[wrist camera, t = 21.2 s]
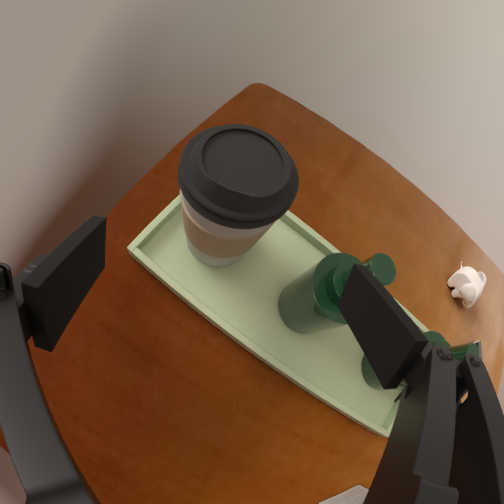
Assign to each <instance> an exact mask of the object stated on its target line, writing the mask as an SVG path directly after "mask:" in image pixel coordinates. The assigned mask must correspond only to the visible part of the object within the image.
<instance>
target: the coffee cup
mask: <svg viewBox="0 0 504 504" xmlns="http://www.w3.org/2000/svg"><path fill="white" fill-rule="evenodd" d="M178 182H179V186H180V200H181V209H182V218H183V226H184V230H185V233H186V240H187V245H188V248H189V250H190V252H191V253H192V255H193V256H194V257H195V258H196V259H197V260H199V261H200V262H202V263H204V264H206V265H209V266H213V267H224V266H228V265H231V264H233V263H235V262H236V261H238V260H239V259H240V258H241V257H242V256H243V254H244V253H246V252H247V251H248V250H250V249H251V248H252V247H253V246H254V245H255V243H256V242H257V241H258V240H259V239H260V238H261V237H262V236H263V235H264V234H265V233H266V232H267V231H268V230H269V229H270V228H271V226H272V225H273V224H274V223H275V222H276V220H278V219H279V218H281V217H282V216H283V215H284V214H285V213H286V212H287V211H288V209H289V208H290V206H291V204H292V202H293V200H294V198H295V196H296V194H297V190H298V185H299V178H298V172H297V169H296V166H295V164H294V162H293V160H292V158H291V156H290V155H289V154H288V152H287V151H286V150H285V149H284V147H283V146H282V145H281V144H280V143H279V142H278V141H277V140H276V139H275V138H274V137H273V136H271V135H270V134H268V133H266V132H265V131H263V130H260V129H258V128H255V127H252V126H248V125H242V124H228V125H223V126H217V127H213V128H210V129H207V130H204V131H202V132H200V133H199V134H197V135H196V136H194V137H193V138H192V139H191V140H190V141H189V142H188V143H187V144H186V146H185V147H184V149H183V151H182V154H181V157H180V163H179V167H178Z"/></svg>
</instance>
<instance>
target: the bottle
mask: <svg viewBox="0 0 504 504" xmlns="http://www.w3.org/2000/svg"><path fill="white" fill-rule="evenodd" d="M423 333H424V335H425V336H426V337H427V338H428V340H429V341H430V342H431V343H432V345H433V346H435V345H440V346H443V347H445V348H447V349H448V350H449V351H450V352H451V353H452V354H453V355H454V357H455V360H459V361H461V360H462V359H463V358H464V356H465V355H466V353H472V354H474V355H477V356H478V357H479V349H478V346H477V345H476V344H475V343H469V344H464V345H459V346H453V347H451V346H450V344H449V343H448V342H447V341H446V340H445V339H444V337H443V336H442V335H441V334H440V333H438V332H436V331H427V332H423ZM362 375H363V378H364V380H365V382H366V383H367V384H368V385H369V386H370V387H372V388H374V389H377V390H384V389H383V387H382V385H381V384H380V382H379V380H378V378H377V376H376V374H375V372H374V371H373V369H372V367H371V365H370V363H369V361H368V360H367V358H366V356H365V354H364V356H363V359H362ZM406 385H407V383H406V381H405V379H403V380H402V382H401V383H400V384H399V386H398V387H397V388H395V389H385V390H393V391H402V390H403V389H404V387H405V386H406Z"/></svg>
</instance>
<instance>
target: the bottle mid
mask: <svg viewBox="0 0 504 504" xmlns="http://www.w3.org/2000/svg"><path fill="white" fill-rule="evenodd" d="M354 264H359V265H364V266H366V267H367V268H368V270H369V271H370V272H371V273H372V274H373V275H374V276H375V277H376V278H377V280H378V281H379V282H380V283H381V284H382V285H383V286H387V285H389V284H391V283H392V282H393V281H394V279H395V276H396V268H395V265H394V262H393V261H392V259H391V258H390V257H389V256H388V255H386V254H384V253H377V254H375V255H373V256H372V257H370V258H368V259H366V260H365V261H363V262H361V261H360V260H359V259H357V258H356V257H354V256H352V255H350V254H346V253H333V254H330V255H328V256H326V257H324V258H323V259H322V260H320V261H319V262H318V263H316V264H315V265H313V266H312V267H311V268H309V269H308V270H306V271H305V272H304V273H302V274H301V275H300V276H298V277H297V278H295V279H294V280H293V281H291V282H290V283H288V284H287V285H286V286H285V287H284V288H283V290H282V291H281V294H280V296H279V300H278V309H279V314H280V316H281V319H282V321H283V322H284V323H285V325H286V326H287V327H288V328H290V329H291V330H292V331H294V332H297V333H300V334H311V333H316V332H320V331H325V330H329V329H333V328H337V327H341V326H345V325H348V324H347V322H346V320H345V319H344V317H343V315H342V314H341V312H340V310H339V308H338V307H337V303H338V301H339V298H340V296H341V294H342V291H343V289H344V287H345V284H346V282H347V279H348V277H349V275H350V272H351V270H352V267H353V265H354Z"/></svg>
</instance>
